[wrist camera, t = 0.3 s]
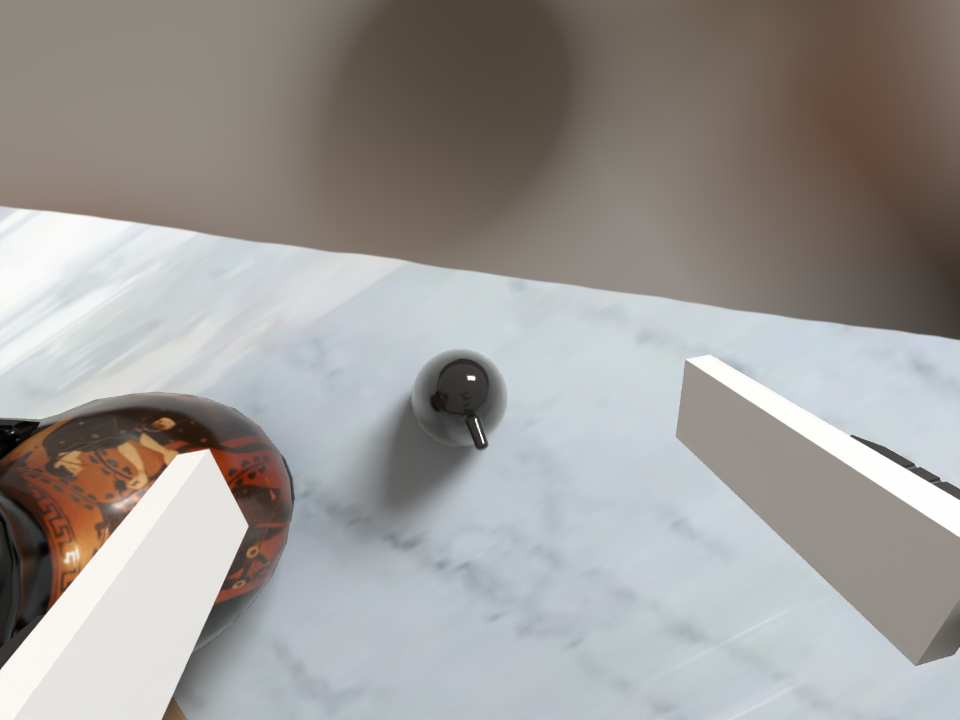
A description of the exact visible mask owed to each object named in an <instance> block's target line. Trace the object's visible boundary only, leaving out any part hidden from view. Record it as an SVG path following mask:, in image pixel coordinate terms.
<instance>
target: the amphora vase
mask: <svg viewBox="0 0 960 720" xmlns="http://www.w3.org/2000/svg"><path fill="white" fill-rule="evenodd" d="M206 449H209V450H210V452H211V454H212V456H213V458H214V460H215V462H216V463H217V465H218V467H219V469H220V471H221V473H222V475H223V477H224V479H225V481H226V483H227V485H228V487H229V489H230V491H231V493H232V495H233V497H234V499H235V500H236V502H237V504H238V506H239V508H240V510H241V512H242V514H243V516H244V518H245V520H246V522H247V524H248V529H247V531H246V533H245V535H244V538H243V540H242V542H241V544H240V546H239V549H238V551H237V553H236V555H235V558H234V560H233V562H232V564H231V566H230V569H229V571H228V573H227V575H226V578H225V580H224V582H223V584H222V586H221V589H220V591H219V593H218V595H217V598H216V600H215V602H214V604H213V606H212V609H211V611H210V613H209V615H208V618H207V620H206V622H205V624H204V626H203V629H202V631H201V633H200V635H199V638H198V640H197V642H196V644H195V646H194V649H193V651H192V653H191V654H193V653H194V652H196V651H198V650H200V649H202V648H203V647H205V646H206V645H207V644H209V643H210V642H211V641H212V640H213V639H214V638H216V637H217V636H218V635H219V634H220V633H221V632H223V631H224V630H225V629H226V628H227V627H228V626H230V625H231V624H232V623H233V622H234V621H235V620H237V619H238V618H239V617H240V615H241V614H242V613H243V612H244V611H245V610H246V609H247V608H248V607H249V606H250V605H251V604H252V603H253V601H254V600H255V599H256V597H257V596H258V595H259V593H260V592H261V591H262V589H263V588H264V587H265V585H266V584H267V582H268V581H269V580H270V578H271V577H272V576H273V573H274V571H275V569H276V566H277V564H278V562H279V559H280V557H281V555H282V552H283V550H284V548H285V545H286V543H287V537H288V531H289V524H290V521H291V518H292V512H293V505H294V499H295V497H294V487H293V478H292V475H291V472H290V470H289V467H288V465H287V462H286V460H285V458H284V457H283V456H282V454H281V453H280V452H279V451H278V449H277V448H276V447H275V445H274V444H273V443H272V442H271V441H270V439H269V438H268V437H267V435H266V434H265V433H264V431H263V430H262V429H261V428H260V426H258V425H257V424H256V423H254V422H253V421H251V420H250V419H249V418H247V417H246V416H245V415H243V414H242V413H240V412H239V411H238V410H236V409H234V408H232V407H229V406H226V405H223V404H221V403H218V402H215V401H213V400H210V399H207V398H203V397H198V396H194V395H188V394H176V393H164V392H149V393H137V394H129V395H122V396H116V397H110V398H103V399H97V400H93V401H91V402H88V403H86V404H83V405H81V406H78V407H76V408H73V409H71V410H68V411H66V412H63V413H61V414H58V415H55V416H51V417H48V418H44V419H41V420H37V419H19V418H0V648H1V647H2V646H3V645H4V644H6V643H7V642H8V641H9V640H10V639H11V638H13V637H14V636H15V635H16V634H17V633H18V632H20V631H21V630H22V629H23V628H24V627H25V626H27V625H28V624H29V623H30V622H31V621H32V620H34V619H35V618H36V617H37V616H40V615H45V614H47V613H48V611H49V610H50V609H51V608H52V606H53V605H54V604H55V603H56V602H57V600H58V599H59V598H60V597H61V596H62V594H63V593H64V592H65V591H66V589H67V588H68V587H69V586H70V585H71V583H72V582H73V581H74V580H75V579H76V577H77V576H78V575H79V574H80V572H81V571H82V570H83V569H84V568H85V566H86V565H87V564H88V563H89V562H90V560H91V559H92V558H93V557H94V555H95V554H96V553H97V552H98V551H99V549H100V548H101V547H102V546H103V545H104V543H105V542H106V541H107V540H108V538H109V537H110V536H111V535H112V534H113V532H114V531H115V530H116V529H117V528H118V526H119V525H120V524H121V523H122V521H123V520H124V519H125V518H126V517H127V515H128V514H129V513H130V512H131V511H132V509H133V508H134V507H135V506H136V504H137V503H138V502H139V501H140V500H141V498H142V497H143V496H144V495H145V494H146V492H147V491H148V490H149V489H150V487H151V486H152V485H153V484H154V483H155V481H156V480H157V479H158V478H159V476H160V475H161V474H162V473H163V472H164V470H165V469H166V468H167V467H168V466H169V464H170V463H171V462H172V461H173V459H174V458H175V457H176V456H177V455H180V454H185V453H190V452H196V451H201V450H206Z"/></svg>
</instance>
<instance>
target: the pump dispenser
mask: <svg viewBox="0 0 960 720" xmlns="http://www.w3.org/2000/svg"><path fill="white" fill-rule="evenodd" d="M506 407H507V388H506V384H505V381H504V378H503V376H502V374H501V372H500V371H499V369H498V368H497V367H496V365H495V364H494V363H493V362H492V361H491V360H489V359H488V358H487V357H485V356H484V355H482V354H480V353H478V352H475V351H472V350H467V349H454V350H449V351H445V352H443V353H440V354H438V355H437V356H435V357H433V358H432V359H431V360H430V361H428V362H427V363H426V364H425V365H424V367H423V368H422V369H421V371H420V372H419V374H418V376H417V378H416V380H415V382H414V385H413V389H412V408H413V412H414V416H415V418H416V420H417V422H418V424H419V425H420V427H421V428H422V430H423V431H424V432H425V433H426V434H427V435H428V436H430V437H431V438H432V439H434V440H436V441H437V442H440V443H442V444H445V445H448V446H455V447H464V446H470V445H473V444H474V445H475V447H476V449H477V450H484V449H486V448H487V447H488V441H487V437H489V436H490V435H491V434H492V433H493V432H494V431H495V430H496V429H497V428H498V426H499V425H500V423H501V421H502V419H503V417H504V414H505V411H506Z"/></svg>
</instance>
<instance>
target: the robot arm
mask: <svg viewBox="0 0 960 720" xmlns="http://www.w3.org/2000/svg"><path fill="white" fill-rule="evenodd" d="M676 437H677V438H678V439H679V440H680V441H681V442H682V443H683V444H684V445H685V446H686V447H687V448H688V449H689V450H690V451H691V452H692V453H693V454H695V455H696V456H697V457H698V458H699V459H700V460H701V461H702V462H703V463H704V464H705V465H706V466H707V467H708V468H709V469H710V470H711V471H712V472H713V473H714V474H715V475H716V476H718V477H719V478H720V479H721V480H722V481H723V482H724V483H725V484H726V485H727V486H728V487H729V488H730V489H731V490H732V491H733V492H734V493H735V494H736V495H737V496H738V497H739V498H740V499H742V500H743V501H744V502H745V503H746V504H747V505H748V506H749V507H750V508H751V509H752V510H753V511H754V512H755V513H756V514H757V515H758V516H759V517H760V518H761V519H762V520H763V521H765V522H766V523H767V524H768V525H769V526H770V527H771V528H772V529H773V530H774V531H775V532H776V533H777V534H778V535H779V536H780V537H781V538H782V539H783V540H784V541H785V542H786V543H787V544H789V545H790V546H791V547H792V548H793V549H794V550H795V551H796V552H797V553H798V554H799V555H800V556H801V557H802V558H803V559H804V560H805V561H806V562H807V563H808V564H809V565H810V566H812V567H813V568H814V569H815V570H816V571H817V572H818V573H819V574H820V575H821V576H822V577H823V578H824V579H825V580H826V581H827V582H828V583H829V584H830V585H831V586H832V587H833V588H835V589H836V590H837V591H838V592H839V593H840V594H841V595H842V596H843V597H844V598H845V599H846V600H847V601H848V602H849V603H850V604H851V605H852V606H853V607H854V608H855V609H856V610H857V611H859V612H860V613H861V614H862V615H863V616H864V617H865V618H866V619H867V620H868V621H869V622H870V623H871V624H872V625H873V626H874V627H875V628H876V629H877V630H878V631H879V632H880V633H882V634H883V635H884V636H885V637H886V638H887V639H888V640H889V641H890V642H891V643H892V644H893V645H894V646H895V647H896V648H897V649H898V650H899V651H900V652H901V653H902V654H903V655H904V656H906V657H907V658H908V659H909V660H910V661H911V662H912V663H913V664H914V665H915V666H917V665H921V664H924V663H927V662H931V661H934V660H938V659H941V658H944V657H948V656H951V655H954V654H955V653H956V651H957V650H958V648H959V647H960V489H959V488H957V487H955V486H953V485H952V484H950V483H948V482H942V481H941V480H940V478H939V477H937V476H936V475H934V474H932V473H930V472H928V471H927V470H925V469H923V468H921V467H919V468H917V467H916V466H915V464H914V463H912V462H911V461H909V460H907V459H905V458H903V457H902V456H900V455H898V454H896V453H895V452H893V451H891V450H889V449H887V448H886V447H883V446H881V445H878V444H875V443H872V442H870V441H867V440H864V439H862V438H859V437H856V436H853V435H851V436H848V435H847V434H845V433H843V432H842V431H840V430H838V429H836V428H835V427H833V426H831V425H830V424H828V423H826V422H824V421H823V420H821V419H819V418H818V417H816V416H814V415H812V414H811V413H809V412H807V411H805V410H804V409H802V408H800V407H799V406H797V405H795V404H793V403H792V402H790V401H788V400H787V399H785V398H783V397H781V396H780V395H778V394H776V393H775V392H773V391H771V390H769V389H768V388H766V387H764V386H763V385H761V384H759V383H757V382H756V381H754V380H752V379H750V378H749V377H747V376H745V375H744V374H742V373H740V372H738V371H737V370H735V369H733V368H732V367H730V366H728V365H726V364H725V363H723V362H721V361H720V360H718V359H716V358H714V357H713V356H711V355H706V356H701V357H696V358H690V359H686V360H685V368H684V376H683V384H682V391H681V399H680V407H679V415H678V423H677V431H676ZM247 529H248V524H247V522H246V520H245V518H244V516H243V514H242V512H241V510H240V508H239V506H238V504H237V502H236V500H235V499H234V497H233V495H232V493H231V491H230V489H229V487H228V485H227V483H226V481H225V479H224V477H223V475H222V473H221V471H220V469H219V467H218V465H217V463H216V462H215V460H214V458H213V456H212V454H211V452H210V450H209V449H206V450H201V451H196V452H190V453H185V454H180V455H177V456H176V457H175V458H174V459H173V461H172V462H171V463H170V464H169V466H168V467H167V468H166V469H165V470H164V472H163V473H162V474H161V475H160V476H159V478H158V479H157V480H156V481H155V483H154V484H153V485H152V486H151V487H150V489H149V490H148V491H147V492H146V494H145V495H144V496H143V497H142V498H141V500H140V501H139V502H138V503H137V504H136V506H135V507H134V508H133V509H132V511H131V512H130V513H129V514H128V515H127V517H126V518H125V519H124V520H123V521H122V523H121V524H120V525H119V526H118V528H117V529H116V530H115V531H114V532H113V534H112V535H111V536H110V537H109V538H108V540H107V541H106V542H105V543H104V545H103V546H102V547H101V548H100V549H99V551H98V552H97V553H96V554H95V555H94V557H93V558H92V559H91V560H90V562H89V563H88V564H87V565H86V566H85V568H84V569H83V570H82V571H81V572H80V574H79V575H78V576H77V577H76V579H75V580H74V581H73V582H72V583H71V585H70V586H69V587H68V588H67V589H66V591H65V592H64V593H63V594H62V596H61V597H60V598H59V599H58V600H57V602H56V603H55V604H54V605H53V606H52V608H51V609H50V610H49V611H48V613H47V614H45V615H40V616H37V617H36V618H35V619H34V620H32V621H31V622H30V623H29V624H28V625H27V626H25V627H24V628H23V629H22V630H21V631H20V632H18V633H17V634H16V635H15V636H14V637H13V638H11V639H10V640H9V641H8V642H7V643H6V644H4V645H3V646H2V647H1V648H0V720H162V717H163V715H164V713H165V711H166V709H167V706H168V704H169V702H170V700H171V697H172V695H173V693H174V691H175V689H176V686H177V684H178V682H179V680H180V677H181V675H182V673H183V671H184V669H185V666H186V664H187V662H188V660H189V657H190V655H191V653H192V651H193V649H194V646H195V644H196V642H197V640H198V638H199V635H200V633H201V631H202V629H203V626H204V624H205V622H206V620H207V618H208V615H209V613H210V611H211V609H212V606H213V604H214V602H215V600H216V598H217V595H218V593H219V591H220V589H221V586H222V584H223V582H224V580H225V578H226V575H227V573H228V571H229V569H230V566H231V564H232V562H233V560H234V558H235V555H236V553H237V551H238V549H239V546H240V544H241V542H242V540H243V538H244V535H245V533H246V531H247Z"/></svg>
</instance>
